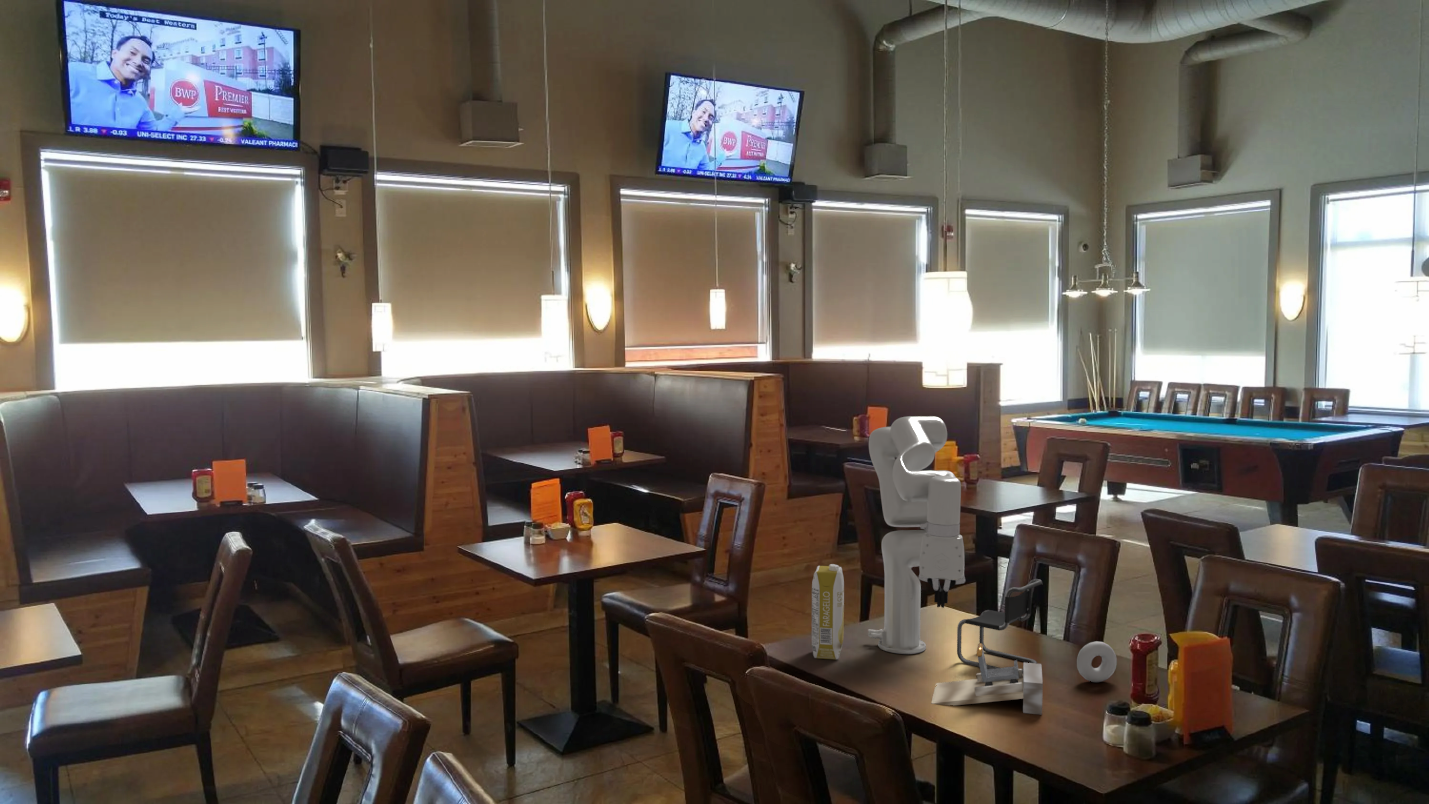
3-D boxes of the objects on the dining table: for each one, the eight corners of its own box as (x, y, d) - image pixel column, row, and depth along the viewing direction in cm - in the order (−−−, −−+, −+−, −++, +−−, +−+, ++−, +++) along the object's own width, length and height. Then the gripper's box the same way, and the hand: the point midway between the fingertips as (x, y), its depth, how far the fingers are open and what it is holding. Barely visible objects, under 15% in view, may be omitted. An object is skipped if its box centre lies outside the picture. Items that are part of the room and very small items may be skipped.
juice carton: (841, 661, 258) (842, 569, 257) (810, 659, 260) (811, 567, 259) (844, 650, 268) (844, 561, 266) (814, 648, 269) (814, 560, 268)
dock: (931, 707, 229) (931, 673, 228) (936, 687, 242) (936, 654, 242) (1041, 718, 222) (1042, 683, 221) (1040, 697, 235) (1041, 663, 235)
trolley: (975, 688, 229) (976, 651, 229) (977, 679, 236) (977, 642, 235) (1018, 693, 226) (1019, 655, 226) (1018, 683, 233) (1019, 646, 232)
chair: (1019, 677, 246) (1020, 588, 245) (955, 661, 258) (957, 577, 257) (1042, 664, 256) (1044, 579, 254) (980, 650, 268) (981, 568, 266)
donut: (1080, 685, 240) (1081, 644, 240) (1073, 680, 244) (1074, 640, 243) (1119, 683, 242) (1120, 642, 241) (1111, 678, 245) (1112, 638, 245)
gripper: (909, 530, 233) (907, 607, 235) (975, 535, 229) (972, 613, 231) (912, 523, 240) (910, 598, 242) (976, 528, 236) (974, 604, 238)
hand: (940, 605), depth 237 cm, fingers closed
